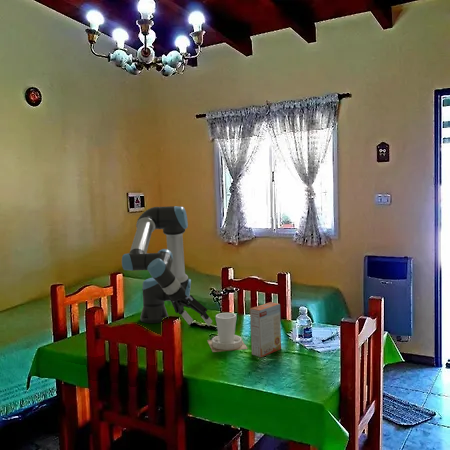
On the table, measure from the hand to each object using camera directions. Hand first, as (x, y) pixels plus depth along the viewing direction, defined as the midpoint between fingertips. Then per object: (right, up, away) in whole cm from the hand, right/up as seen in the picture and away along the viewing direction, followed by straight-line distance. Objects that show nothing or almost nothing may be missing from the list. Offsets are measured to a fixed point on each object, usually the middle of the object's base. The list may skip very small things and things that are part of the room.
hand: (200, 323), depth 210 cm
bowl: (+12, -11, +4) cm, 17 cm away
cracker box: (+29, -12, -6) cm, 32 cm away
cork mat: (+12, -11, +4) cm, 17 cm away
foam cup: (+12, -10, +4) cm, 16 cm away
